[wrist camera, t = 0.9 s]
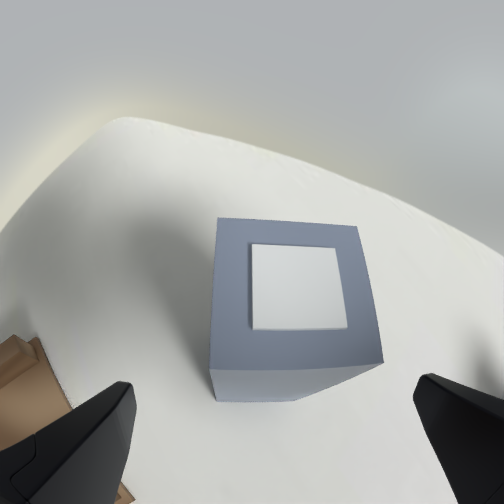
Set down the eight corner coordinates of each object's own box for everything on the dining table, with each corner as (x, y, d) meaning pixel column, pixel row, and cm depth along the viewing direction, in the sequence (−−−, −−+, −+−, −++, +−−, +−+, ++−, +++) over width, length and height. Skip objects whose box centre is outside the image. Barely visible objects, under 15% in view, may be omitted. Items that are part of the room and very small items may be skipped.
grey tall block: (293, 400, 16) (386, 361, 7) (216, 401, 15) (208, 368, 6) (290, 331, 18) (358, 223, 9) (218, 329, 18) (217, 214, 9)
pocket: (135, 499, 11) (120, 511, 9) (22, 545, 6) (1, 552, 4) (38, 338, 15) (17, 323, 13) (-49, 404, 10) (-72, 396, 8)
